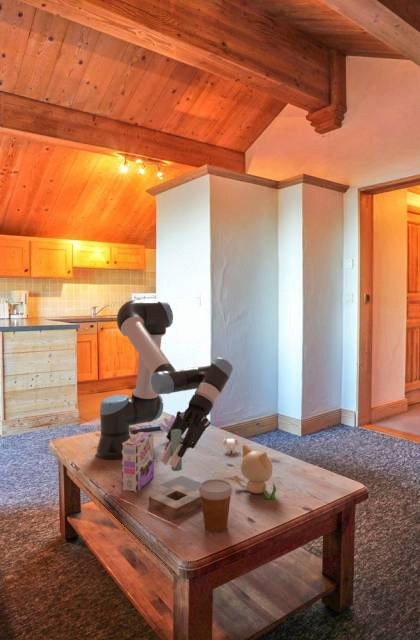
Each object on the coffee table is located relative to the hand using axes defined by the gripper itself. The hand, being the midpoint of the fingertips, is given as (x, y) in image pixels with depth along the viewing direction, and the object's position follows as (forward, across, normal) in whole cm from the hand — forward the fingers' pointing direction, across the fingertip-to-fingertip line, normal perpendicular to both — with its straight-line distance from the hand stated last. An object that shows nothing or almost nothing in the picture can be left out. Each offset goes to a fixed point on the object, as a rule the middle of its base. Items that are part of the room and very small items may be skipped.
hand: (167, 463), depth 133 cm
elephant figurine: (-26, +17, -47) cm, 57 cm away
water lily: (-23, +46, -44) cm, 68 cm away
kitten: (-10, -13, -31) cm, 35 cm away
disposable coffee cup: (+9, -17, -13) cm, 23 cm away
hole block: (+8, 0, -13) cm, 15 cm away
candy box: (+6, +22, -15) cm, 28 cm away
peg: (-1, 0, -5) cm, 5 cm away
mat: (-1, +9, -22) cm, 24 cm away
